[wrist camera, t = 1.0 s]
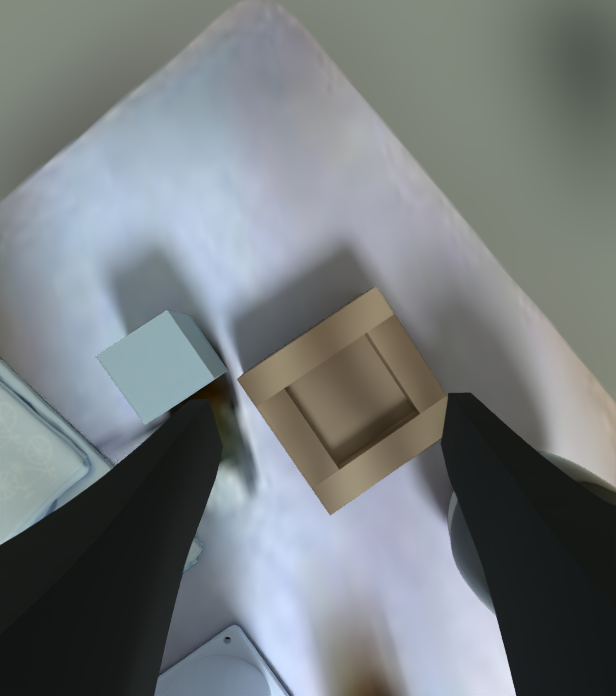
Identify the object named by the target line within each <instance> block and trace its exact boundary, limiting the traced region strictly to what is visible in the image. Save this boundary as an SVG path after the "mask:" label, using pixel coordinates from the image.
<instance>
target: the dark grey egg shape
mask: <svg viewBox="0 0 616 696" xmlns="http://www.w3.org/2000/svg"><path fill="white" fill-rule="evenodd" d="M537 452H539V453H540V454H541V455H542V456H543V457H545V458H546V459H547V460H549V461H550V462H551V463H552V464H554V465H555V466H556V467H558V468H559V469H560V470H561V471H563V472H564V473H565V474H567V475H568V476H569V477H571V478H572V479H574V480H575V481H576V482H578V483H579V484H580V485H582V486H583V487H585V488H586V489H588V490H589V491H591V492H592V493H593V494H595V495H596V496H598V497H599V498H601V499H602V500H604V501H605V502H607V503H608V504H610V505H611V506H613V507H614V508H616V487H614V486H613V485H611V484H610V483H608V482H607V481H605V480H604V479H602V478H600V477H599V476H597V475H596V474H594V473H592V472H591V471H589V470H587V469H586V468H584V467H582V466H580V465H578V464H576V463H574V462H572V461H570V460H568V459H565V458H563V457H560V456H558V455H555V454H551V453H547V452H541V451H537ZM448 529H449V535H450V540H451V549H452V554H453V557H454V561H455V563H456V566H457V568H458V570H459V572H460V574H461V576H462V577H463V579H464V580H465V582H466V583H467V585H468V586H469V587H470V589H471V590H472V591H473V592H474V594H475V595H476V596H477V597H478V598H479V599H480V601H481V602H482V603H483V604H484V605H485V606H486V607H487V608H488V609H489V610H490V611H491V612H492V613H493V614H494V615H495V616H496V613H495V609H494V606H493V602H492V598H491V595H490V591H489V588H488V584H487V580H486V577H485V573H484V570H483V567H482V564H481V561H480V558H479V555H478V552H477V549H476V547H475V544H474V542H473V539H472V536H471V534H470V531H469V529H468V526H467V523H466V521H465V518H464V515H463V513H462V510H461V508H460V505H459V502H458V500H457V497H456V494H455V492H454V491H453V494H452V497H451V500H450V503H449V509H448Z"/></svg>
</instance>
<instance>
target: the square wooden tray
mask: <svg viewBox="0 0 616 696" xmlns="http://www.w3.org/2000/svg"><path fill="white" fill-rule="evenodd" d="M237 380H238V382H239V383H240V385H241V386H242V388H243V389H244V390H245V392H246V393H247V395H248V396H249V398H250V399H251V401H252V402H253V404H254V405H255V406H256V408H257V409H258V411H259V412H260V414H261V415H262V417H263V418H264V420H265V421H266V423H267V424H268V425H269V427H270V428H271V430H272V431H273V433H274V434H275V436H276V437H277V439H278V440H279V441H280V443H281V444H282V446H283V447H284V449H285V450H286V452H287V453H288V455H289V456H290V458H291V459H292V460H293V462H294V463H295V465H296V466H297V468H298V469H299V471H300V472H301V474H302V475H303V476H304V478H305V479H306V481H307V482H308V484H309V485H310V487H311V488H312V490H313V491H314V493H315V494H316V495H317V497H318V498H319V500H320V501H321V503H322V504H323V506H324V507H325V509H326V510H327V511H328V513H329V514H330V515H332V514H333V513H335V512H336V511H337V510H339V509H340V508H342V507H343V506H345V505H346V504H347V503H349V502H350V501H352V500H353V499H355V498H356V497H357V496H359V495H360V494H362V493H363V492H365V491H366V490H367V489H369V488H370V487H372V486H373V485H375V484H376V483H377V482H379V481H380V480H382V479H383V478H385V477H386V476H388V475H389V474H390V473H392V472H393V471H395V470H396V469H398V468H399V467H400V466H402V465H403V464H405V463H406V462H408V461H409V460H410V459H412V458H413V457H415V456H416V455H418V454H419V453H420V452H422V451H423V450H425V449H426V448H428V447H429V446H430V445H432V444H433V443H435V442H436V441H438V440H439V439H441V438H442V433H443V427H444V420H445V414H446V407H447V400H448V397H447V395H446V394H445V392H444V390H443V389H442V387H441V386H440V384H439V383H438V381H437V380H436V378H435V376H434V375H433V373H432V372H431V370H430V369H429V367H428V366H427V364H426V362H425V361H424V359H423V358H422V356H421V355H420V353H419V352H418V350H417V348H416V347H415V345H414V344H413V342H412V341H411V339H410V337H409V336H408V334H407V333H406V331H405V330H404V328H403V327H402V325H401V323H400V322H399V320H398V319H397V317H396V316H395V314H394V313H393V311H392V309H391V308H390V306H389V305H388V303H387V302H386V300H385V299H384V297H383V295H382V294H381V292H380V291H379V289H378V288H377V286H376V287H374V288H372V289H370V290H369V291H367V292H365V293H363V294H362V295H360V296H359V297H357V298H356V299H354V300H353V301H351V302H350V303H348V304H347V305H345V306H344V307H342V308H341V309H339V310H338V311H336V312H335V313H333V314H332V315H330V316H329V317H327V318H326V319H324V320H323V321H321V322H320V323H318V324H317V325H315V326H314V327H312V328H311V329H309V330H308V331H306V332H305V333H303V334H302V335H300V336H299V337H297V338H296V339H294V340H293V341H291V342H290V343H288V344H287V345H285V346H284V347H282V348H281V349H279V350H278V351H276V352H275V353H273V354H272V355H270V356H269V357H267V358H266V359H264V360H263V361H261V362H260V363H258V364H257V365H255V366H254V367H252V368H251V369H249V370H248V371H246V372H245V373H243V374H242V375H241V376H240V377H239V378H238V379H237Z"/></svg>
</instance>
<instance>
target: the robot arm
mask: <svg viewBox="0 0 616 696" xmlns="http://www.w3.org/2000/svg"><path fill="white" fill-rule="evenodd" d="M441 446H442V451H443V455H444V459H445V463H446V467H447V471H448V475H449V478H450V481H451V484H452V486H453V489H454V492H455V494H456V497H457V500H458V502H459V505H460V508H461V510H462V513H463V515H464V518H465V521H466V523H467V526H468V529H469V531H470V534H471V536H472V539H473V542H474V544H475V547H476V549H477V552H478V555H479V558H480V561H481V564H482V567H483V570H484V573H485V577H486V580H487V584H488V588H489V591H490V595H491V598H492V602H493V606H494V609H495V613H496V617H497V621H498V624H499V628H500V632H501V636H502V640H503V643H504V647H505V651H506V655H507V659H508V663H509V667H510V671H511V676H512V680H513V684H514V688H515V692H516V696H616V508H614V507H613V506H611V505H610V504H608V503H607V502H605V501H604V500H602V499H601V498H599V497H598V496H596V495H595V494H593V493H592V492H591V491H589V490H588V489H586V488H585V487H583V486H582V485H580V484H579V483H578V482H576V481H575V480H574V479H572V478H571V477H569V476H568V475H567V474H565V473H564V472H563V471H561V470H560V469H559V468H558V467H556V466H555V465H554V464H552V463H551V462H550V461H549V460H547V459H546V458H545V457H543V456H542V455H541V454H540V453H539V452H537V451H536V450H535V449H534V448H532V447H531V446H530V445H529V444H528V443H526V442H525V441H524V440H523V439H522V438H521V437H519V436H518V435H517V434H516V433H515V432H514V431H512V430H511V429H510V428H509V427H508V426H507V425H506V424H505V423H503V422H502V421H501V420H500V419H499V418H498V417H497V416H496V415H495V414H493V413H492V412H491V411H490V410H489V409H488V408H487V407H486V406H485V405H484V404H483V403H481V402H480V401H479V400H478V399H477V398H476V397H475V396H474V395H473V394H472V393H449V394H448V400H447V407H446V414H445V420H444V427H443V433H442V440H441ZM222 448H223V446H222V442H221V439H220V435H219V432H218V428H217V425H216V421H215V418H214V414H213V411H212V407H211V404H210V400H209V399H201V400H190V401H188V402H187V403H186V404H185V405H184V406H183V407H181V408H180V409H179V410H178V411H177V412H176V413H175V414H174V415H173V416H172V417H171V418H170V419H168V420H167V421H166V422H165V423H164V424H163V425H162V426H161V427H160V428H159V429H158V430H156V431H155V432H154V433H153V434H152V435H151V436H150V437H149V438H148V439H146V440H145V441H144V442H143V443H142V444H141V445H140V446H139V447H138V448H136V449H135V450H134V451H133V452H132V453H130V454H129V455H128V456H127V457H126V458H124V459H123V460H122V461H121V462H120V463H118V464H117V465H116V466H115V467H114V468H112V469H111V470H110V471H109V472H108V473H106V474H105V475H104V476H103V477H101V478H100V479H99V480H97V481H96V482H95V483H93V484H92V485H91V486H89V487H88V488H87V489H85V490H84V491H82V492H81V493H80V494H78V495H77V496H76V497H74V498H73V499H71V500H70V501H69V502H67V503H66V504H64V505H63V506H61V507H60V508H58V509H57V510H55V511H53V512H52V513H50V514H49V515H47V516H46V517H44V518H43V519H41V520H40V521H38V522H36V523H35V524H33V525H32V526H30V527H29V528H27V529H26V530H24V531H22V532H21V533H19V534H18V535H16V536H14V537H13V538H11V539H9V540H7V541H6V542H4V543H2V544H1V545H0V696H289V695H288V693H287V692H286V690H285V689H284V688H283V686H282V685H281V684H280V682H279V681H278V679H277V678H276V677H275V675H274V674H273V672H272V671H271V670H270V668H269V667H268V666H267V664H266V663H265V661H264V660H263V659H262V657H261V656H260V654H259V653H258V652H257V650H256V649H255V648H254V646H253V645H252V643H251V642H250V641H249V639H248V638H247V637H246V635H245V634H244V632H243V631H242V630H241V628H240V627H239V626H237V625H232V626H230V627H228V628H227V629H225V630H224V631H223V632H221V633H220V634H218V635H217V636H215V637H214V638H213V639H211V640H210V641H208V642H207V643H206V644H204V645H203V646H201V647H200V648H198V649H197V650H196V651H194V652H193V653H191V654H190V655H188V656H187V657H186V658H184V659H183V660H181V661H180V662H179V663H177V664H176V665H174V666H173V667H171V668H170V669H169V670H167V671H166V672H164V673H163V674H161V675H160V676H159V677H158V675H159V671H160V666H161V661H162V657H163V652H164V647H165V643H166V638H167V634H168V630H169V626H170V622H171V618H172V613H173V609H174V605H175V601H176V597H177V593H178V589H179V586H180V582H181V578H182V574H183V570H184V567H185V563H186V560H187V557H188V554H189V551H190V548H191V545H192V542H193V539H194V537H195V534H196V531H197V528H198V526H199V523H200V520H201V518H202V515H203V512H204V509H205V507H206V504H207V501H208V498H209V495H210V493H211V490H212V487H213V484H214V481H215V478H216V475H217V471H218V466H219V462H220V457H221V453H222ZM225 637H230V639H226V638H225Z"/></svg>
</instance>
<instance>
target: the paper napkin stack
mask: <svg viewBox="0 0 616 696" xmlns="http://www.w3.org/2000/svg"><path fill="white" fill-rule="evenodd" d="M112 468H114V467H113V466H112V465H111V464H110V463H109V462H108V461H107V460H106V459H105V458H104V457H103V456H102V455H101V454H100V453H99V452H98V451H97V450H96V449H95V448H94V447H92V446H91V445H90V444H89V443H88V442H87V441H86V440H85V439H84V438H83V437H82V436H81V435H80V434H79V433H78V432H77V431H76V430H75V429H74V428H72V427H71V426H70V425H69V424H68V423H67V422H66V421H65V420H64V419H63V418H62V417H61V416H60V415H59V414H58V413H57V412H55V411H54V410H53V409H52V408H51V407H50V406H49V405H48V404H47V403H46V402H45V401H44V400H43V399H42V398H41V397H40V396H39V395H38V394H37V393H36V392H35V391H34V390H33V389H32V388H31V387H30V386H29V385H28V384H27V383H26V382H25V381H24V380H23V379H22V378H21V377H19V376H18V375H17V374H16V373H15V372H14V371H13V370H12V369H11V368H10V367H9V366H8V365H7V364H6V363H5V362H4V361H3V360H1V359H0V545H1V544H2V543H4V542H6V541H7V540H9V539H11V538H13V537H14V536H16V535H18V534H19V533H21V532H22V531H24V530H26V529H27V528H29V527H30V526H32V525H33V524H35V523H36V522H38V521H40V520H41V519H43V518H44V517H46V516H47V515H49V514H50V513H52V512H53V511H55V510H57V509H58V508H60V507H61V506H63V505H64V504H66V503H67V502H69V501H70V500H71V499H73V498H74V497H76V496H77V495H78V494H80V493H81V492H82V491H84V490H85V489H87V488H88V487H89V486H91V485H92V484H93V483H95V482H96V481H97V480H99V479H100V478H101V477H103V476H104V475H105V474H106V473H108V472H109V471H110V470H111V469H112ZM202 546H203V543H202V542H200V541H198V540H197V539H196V538H195V537H194V539H193V542H192V545H191V548H190V551H189V554H188V557H187V560H186V563H185V567H184V570H183V573H184V572H185V571H186V570H187V569H189V568H190V567H191V566H193V565H194V564H195V563H198V560H197V557H198V556H199V554H200V553H201V552H202V548H201V547H202Z"/></svg>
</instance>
